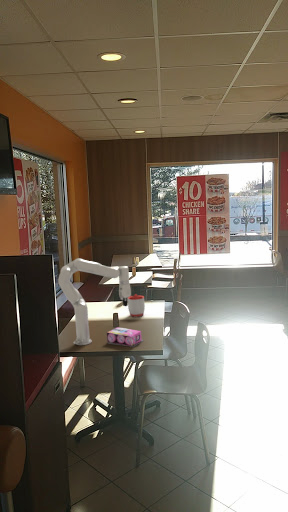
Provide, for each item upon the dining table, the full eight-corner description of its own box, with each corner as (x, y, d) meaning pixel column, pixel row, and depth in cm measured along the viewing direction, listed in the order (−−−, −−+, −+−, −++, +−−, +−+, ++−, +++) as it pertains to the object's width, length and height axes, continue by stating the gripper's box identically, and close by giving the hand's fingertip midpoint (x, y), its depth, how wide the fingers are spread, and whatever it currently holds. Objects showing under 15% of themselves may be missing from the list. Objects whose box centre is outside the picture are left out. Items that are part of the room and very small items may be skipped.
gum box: (142, 331, 320) (132, 336, 309) (143, 341, 321) (132, 347, 310) (117, 326, 334) (106, 332, 323) (118, 336, 335) (107, 342, 324)
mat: (133, 347, 311) (133, 346, 311) (107, 343, 322) (107, 342, 322) (143, 340, 324) (143, 340, 324) (118, 337, 335) (118, 336, 335)
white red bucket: (144, 311, 405) (142, 291, 402) (146, 316, 388) (145, 295, 385) (127, 313, 403) (126, 292, 400) (129, 318, 386) (127, 296, 383)
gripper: (122, 284, 319) (124, 308, 322) (133, 280, 332) (134, 304, 334) (114, 284, 323) (115, 307, 326) (125, 280, 336) (126, 303, 338)
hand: (125, 305), depth 330 cm, fingers closed
